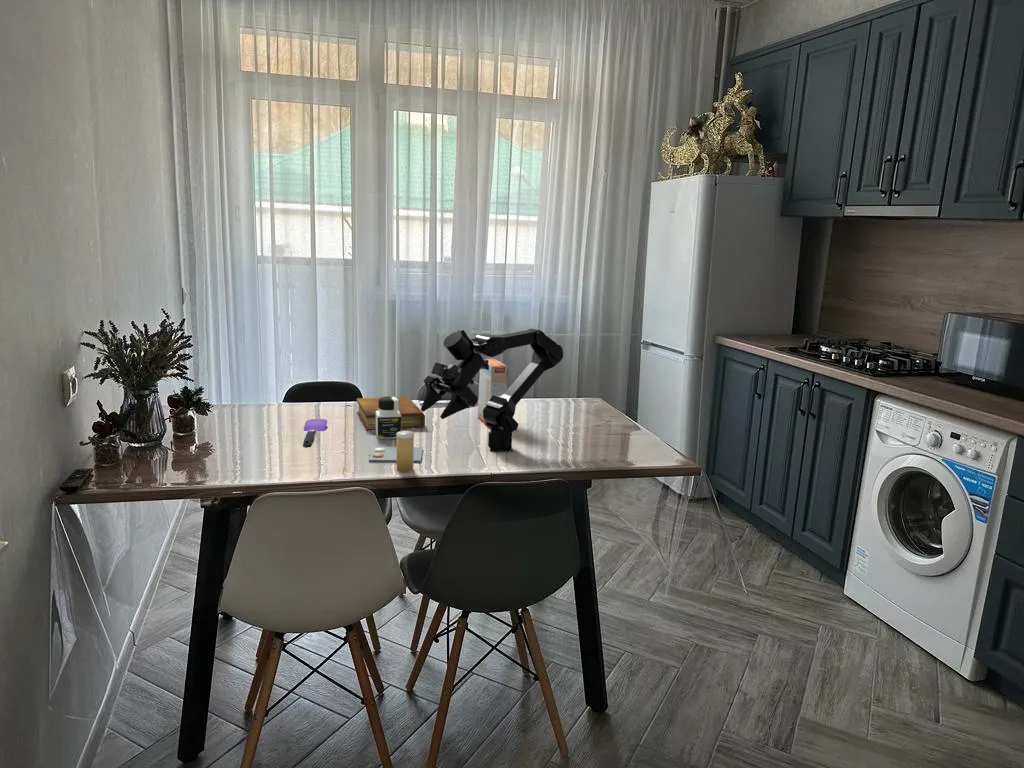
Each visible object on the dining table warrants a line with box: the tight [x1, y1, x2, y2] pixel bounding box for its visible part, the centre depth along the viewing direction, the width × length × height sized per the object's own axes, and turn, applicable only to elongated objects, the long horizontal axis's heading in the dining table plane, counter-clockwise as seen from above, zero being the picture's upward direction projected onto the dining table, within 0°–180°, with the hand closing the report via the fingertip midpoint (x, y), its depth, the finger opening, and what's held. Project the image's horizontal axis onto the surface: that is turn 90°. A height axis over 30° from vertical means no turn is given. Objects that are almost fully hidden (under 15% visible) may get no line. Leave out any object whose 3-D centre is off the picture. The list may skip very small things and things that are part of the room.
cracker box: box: [477, 358, 509, 429], centre depth 234 cm, size 14×6×21 cm, turn 18°
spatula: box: [302, 418, 328, 448], centre depth 212 cm, size 24×7×2 cm, turn 8°
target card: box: [368, 446, 423, 464], centre depth 197 cm, size 14×12×1 cm
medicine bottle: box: [375, 396, 402, 440], centre depth 215 cm, size 7×7×12 cm
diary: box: [356, 396, 426, 432], centre depth 233 cm, size 23×19×6 cm
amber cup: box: [396, 430, 415, 473], centre depth 185 cm, size 5×5×10 cm
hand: (431, 414), depth 189 cm, fingers open, 9 cm apart
